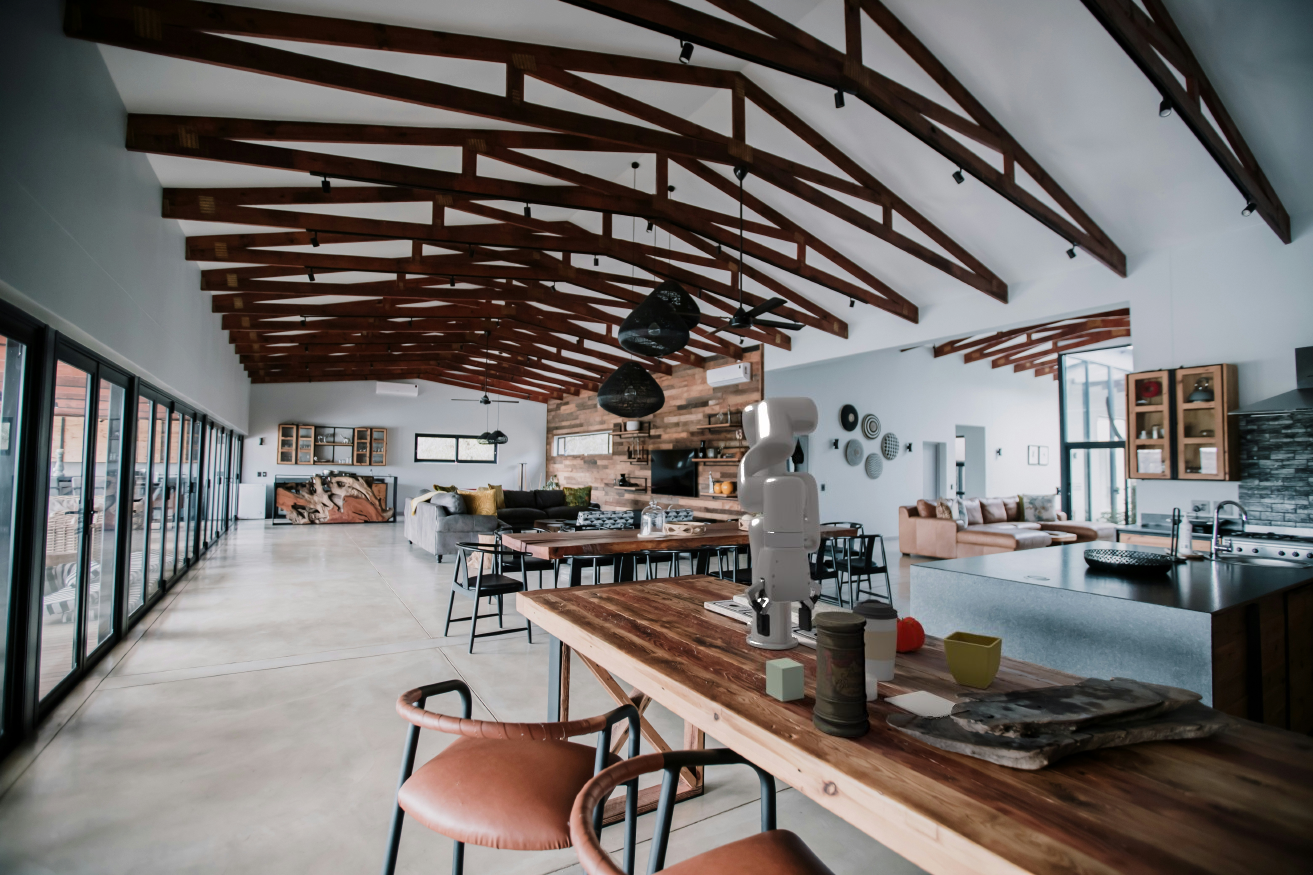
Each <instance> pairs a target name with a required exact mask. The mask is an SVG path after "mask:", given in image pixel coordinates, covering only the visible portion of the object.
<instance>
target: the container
mask: <svg viewBox="0 0 1313 875" xmlns="http://www.w3.org/2000/svg"><path fill="white" fill-rule="evenodd" d="M813 619H814V622H815V623H816V625H815V628H816V639H815V642H816V646H815V648H816V683H815V684H816V685H815V686H816V687H815V704H814V706H813V712H814V714H813V715H812V723H813V725H814V726H815V727H816V729H818V730H819V731H821V732H823V733H826V734H828V735H831V736H836V737H844V738H858V737H863V736H865V735H868V733H869V732H870V730H871V722H870V720H869V718H870V716H871V715H870V712H869V711H868V704H867V703H868V701H867V694H866V672H865V646H866V644H865V642H864V632H865V628H864V627H865V626H866V624H867V621H866V618H865V617H864V616H861V615H858V614H854V613H852V612H846V611H821V612H817V613H816V614H815V615H814V618H813Z"/></svg>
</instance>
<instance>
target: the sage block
mask: <svg viewBox="0 0 1313 875" xmlns="http://www.w3.org/2000/svg"><path fill="white" fill-rule="evenodd" d="M765 681H766V682H765V688H766V689H765V690H766V691H765V692H766V694H767V695H769V696H771V697H772V698H775V699H776V700H779V701H780V702H783V703H785V702H788V701H794V700H798V699H804V698H805V666H804V664H803V663H800V662H797V661H795V660H793V659H791V658H789V657H783V658H777V659H771V660H766V661H765Z"/></svg>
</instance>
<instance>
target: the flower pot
mask: <svg viewBox="0 0 1313 875" xmlns="http://www.w3.org/2000/svg"><path fill="white" fill-rule="evenodd" d="M942 640H943V647H944V652H945V659H946V664H947V667H948V670H949V672H950V673H951V676H952V677H953V679H954V680H955V682H956V683H957V684H960V685H963V686H968V687H973V688H977V689H982V690H984V689H987V688H988V687H989V686H990V685H991V684H992V683H993V681H994V680H995V679H996V676H997V675H998V671H999V669H1000V665H1001V657H1002V656H1001V655H1002V646H1003V645H1002V644H1003V639H1002V637H998V636H990V635H985V634H977V633H976V634H975V633H971V632H964V631H958V630H956V631H953V632H952V633H951V634H949V635H948V636H946V637H944V638H943V639H942Z"/></svg>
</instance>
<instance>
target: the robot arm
mask: <svg viewBox="0 0 1313 875" xmlns="http://www.w3.org/2000/svg"><path fill="white" fill-rule="evenodd" d="M741 416H742V417H741V419H742V429H743V432H744V436H745V439H746V442H747V444H748V446H749V449H748V450H747V452H746V453H745V454H744V455H743V456H742V458H741V460H740V462H739V465H738V469H737V478H736V479H737V481H736V482H737V500H738V504H739V506H740V508H741V509H742V510H743V511H744V512H747V513H754V514H755V513H758V515H755V516H753V517H752V518H751V519H750V521H749V523H748V529H747V530H748V532H747V533H748V540H749V545H750V546H749V547H750V557H751V583H752V584H751V585H750V586H749V587H747V588H746V589H744V593H743V594H744V595H745V597H746V600H747V601H748V602H747V603H748V605H749V606H750V607H751V609H752V620H751V621H747V623H746V625H747V628H750V629H751V630H750V633H749V634H747V635H746V637H745V639H746V640H745V641H746V643H747V644H748V645H749V646H752V647H755V648H759V649H764V650H788V649H794V648H796V647H797V646H798V645H799V639H798V637H796V636H795V637H796V638H795V637H792V633H793V631H792V625H793V624H792V623H793V622H792V619H793V618H792V603H796V602H797V603H798V604H799V605H800V607H798V609H797V610H798V614H797V615H798V617H797V618H798V621H797V622H798V629H799V630H802V631H804V632H808V633H810V632H812V630H813V610H815V608H816V604H817V603H818V601H819V599H820V597H819V596H820V594H821V593H822V590H823V586H822V585H821V584H820V583H818V582H817V581H816V580H814V579H812V578H811V569H810V561H809V557H808V554H812V553H816V552H817V551H818V550H819V547H820V544H821V521H820V504H819V492H818V490H819V488H818V484H817V481H816V478H815V476H814V475H812V474H811V473H808V472H805V471H788V470H787V460H789V459H790V458H791V457H792V456H793V455H794V453H795V450H796V442H795V436H806V435H810V434H812V433H814V432H815V431H816V429H817V427H818V423H819V411H818V408H817V405H816V403H815V401H814V400H813V399H812V398H810V397H806V396H805V397H804V396H786V397H785V396H776V397H774V396H773V397H767V398H764V399H763V400H760V401H759V402H753V403H750V404H748V405H745V407H744V408H743V410H742V414H741ZM760 513H761V514H760Z"/></svg>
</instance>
